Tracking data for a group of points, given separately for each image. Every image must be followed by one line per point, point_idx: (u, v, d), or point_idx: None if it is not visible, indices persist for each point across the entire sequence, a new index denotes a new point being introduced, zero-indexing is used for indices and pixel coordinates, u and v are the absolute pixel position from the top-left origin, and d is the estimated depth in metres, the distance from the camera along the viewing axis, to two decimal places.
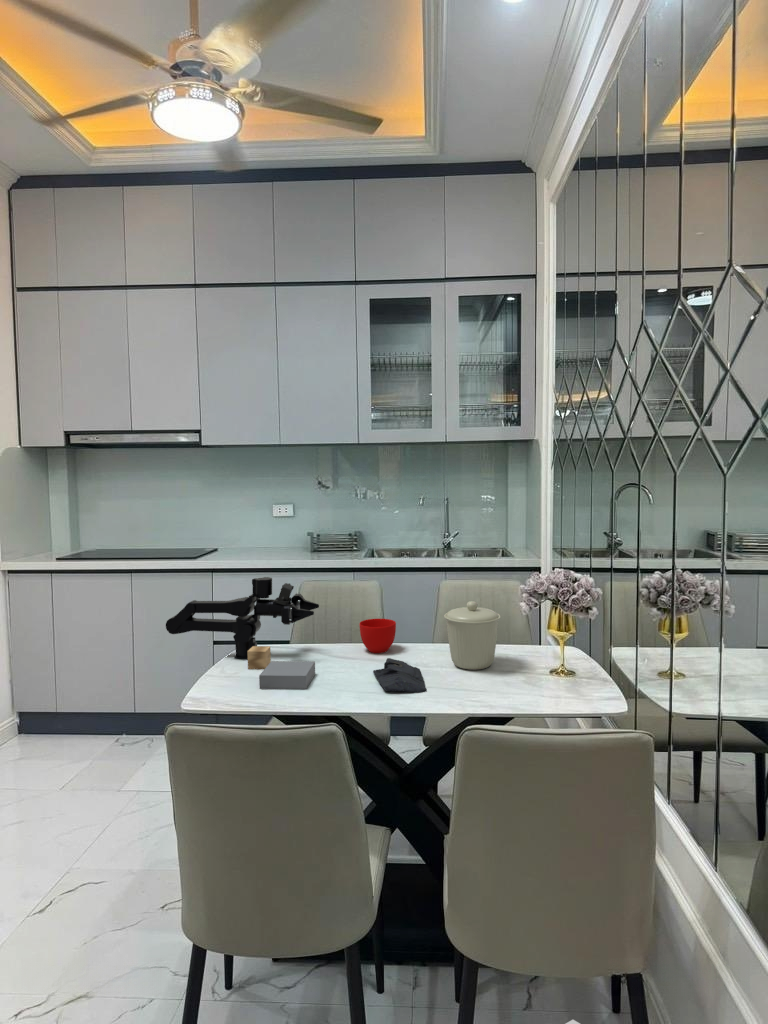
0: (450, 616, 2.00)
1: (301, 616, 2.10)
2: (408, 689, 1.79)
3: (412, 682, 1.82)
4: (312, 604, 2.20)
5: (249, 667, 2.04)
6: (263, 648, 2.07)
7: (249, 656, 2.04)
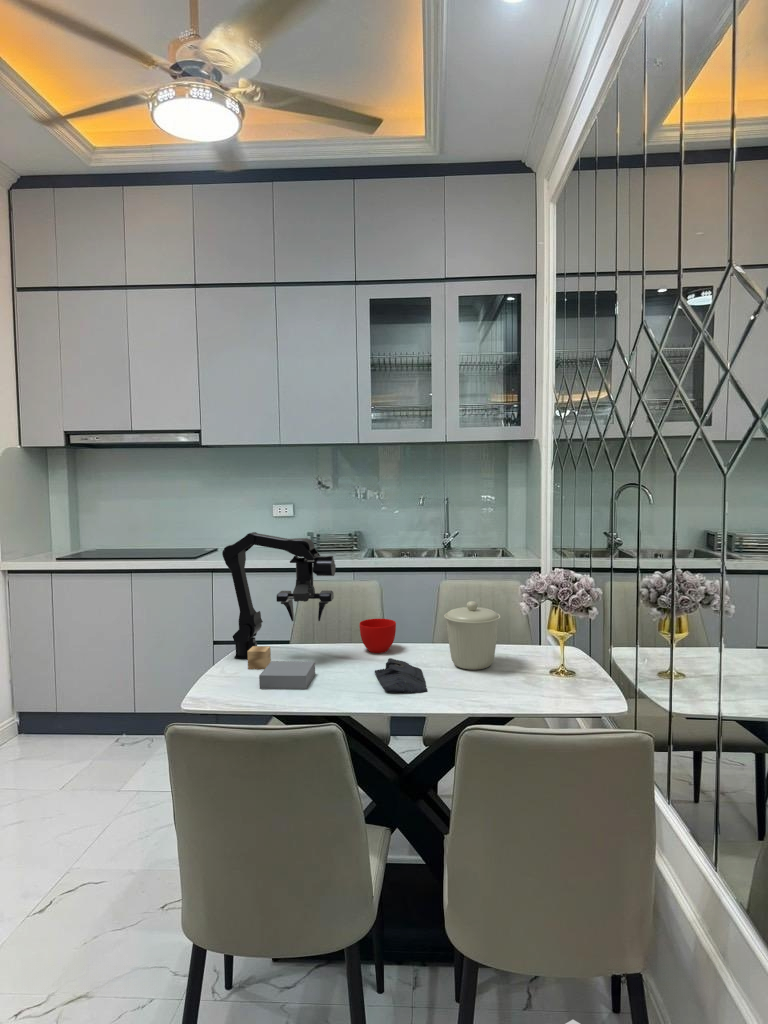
0: (450, 616, 2.00)
1: None
2: (409, 689, 1.79)
3: (413, 682, 1.82)
4: None
5: (249, 667, 2.04)
6: (263, 648, 2.07)
7: (249, 656, 2.04)
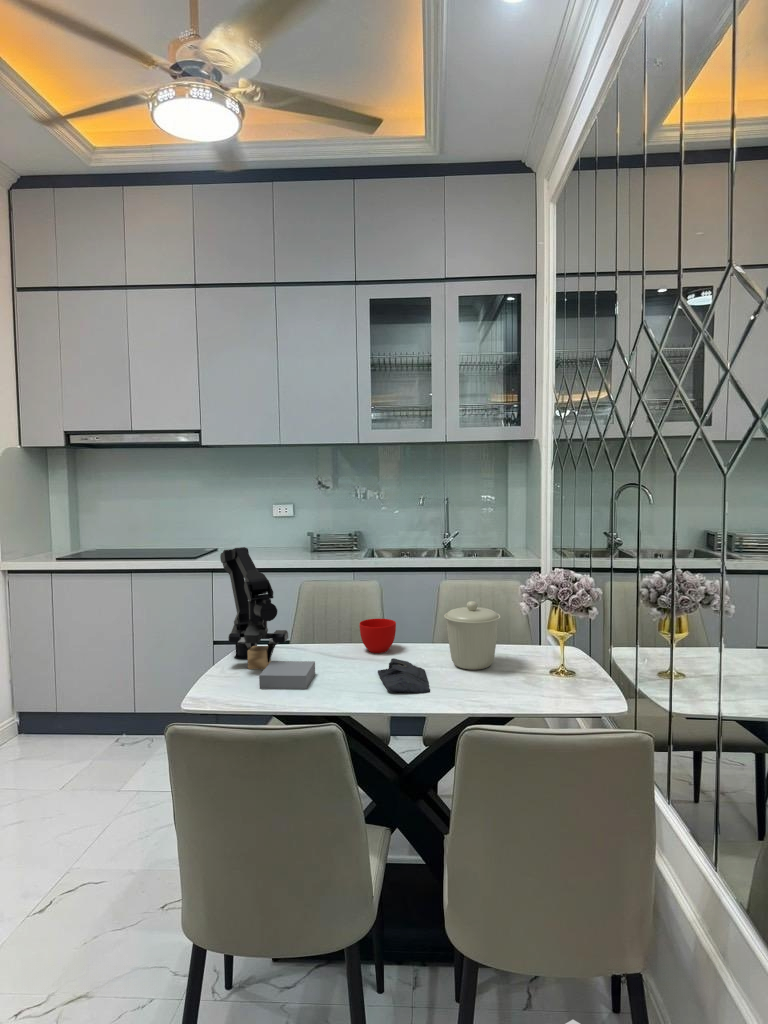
0: (450, 616, 2.00)
1: None
2: (411, 690, 1.79)
3: (416, 682, 1.82)
4: None
5: (249, 667, 2.04)
6: (263, 647, 2.07)
7: (249, 656, 2.04)
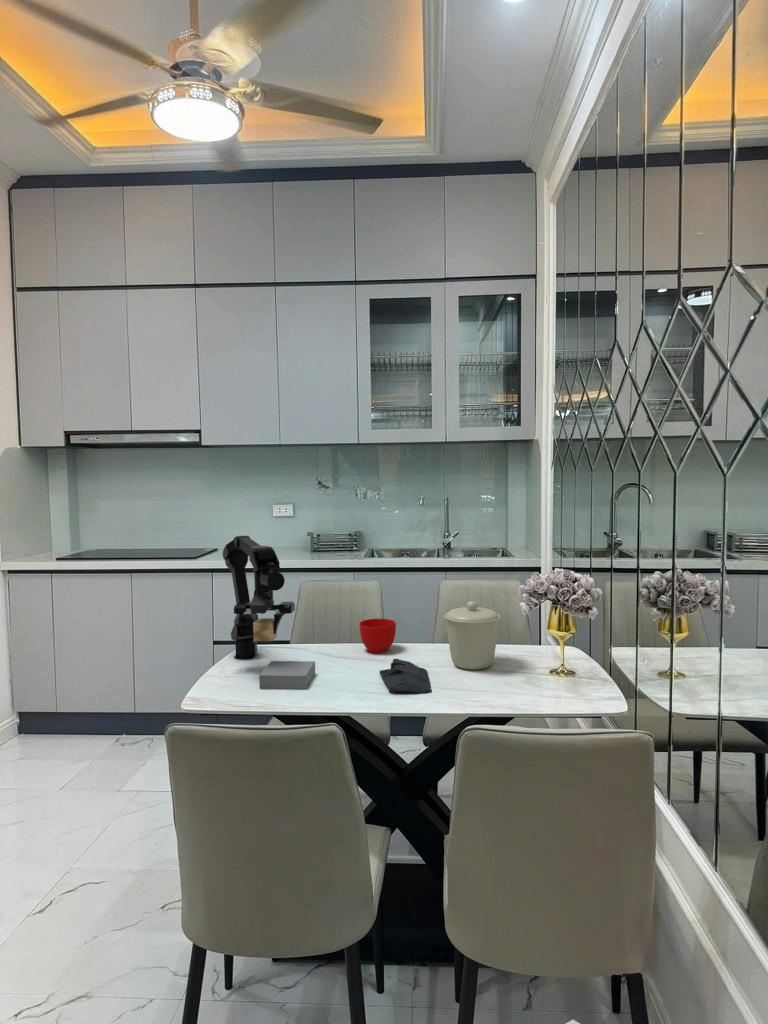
0: (450, 616, 2.00)
1: None
2: (413, 690, 1.79)
3: (417, 683, 1.82)
4: None
5: (255, 639, 1.99)
6: (269, 619, 2.03)
7: (255, 627, 1.99)
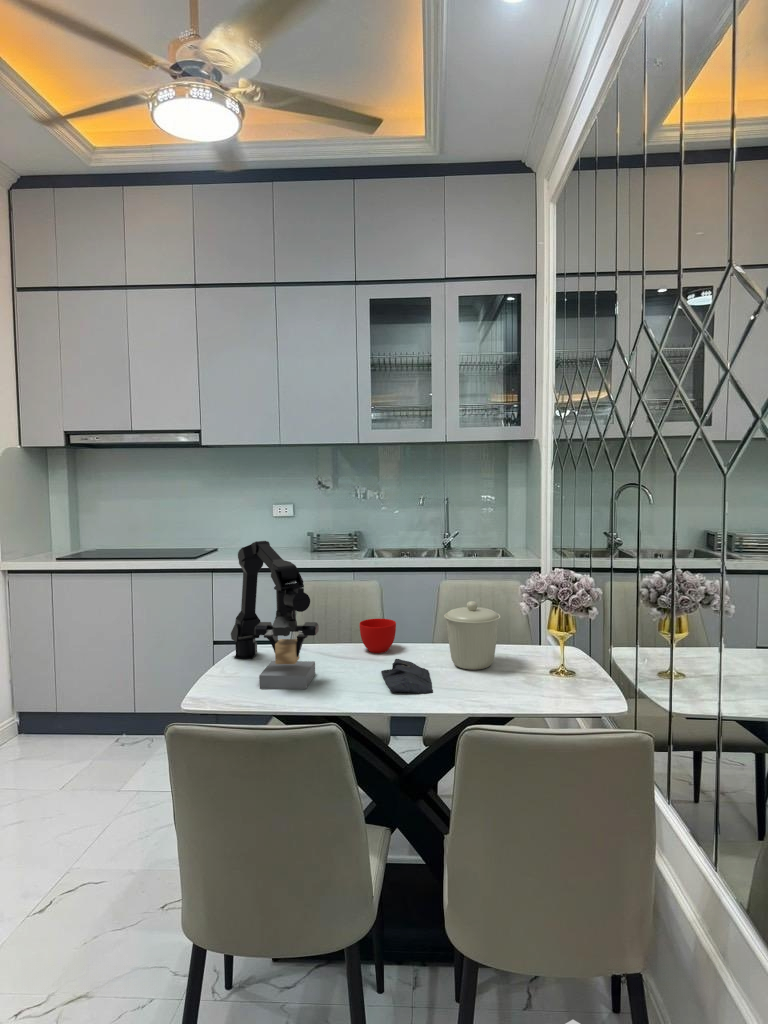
0: (450, 616, 2.00)
1: None
2: (414, 690, 1.79)
3: (418, 683, 1.81)
4: None
5: (277, 661, 1.89)
6: (291, 641, 1.92)
7: (277, 649, 1.88)
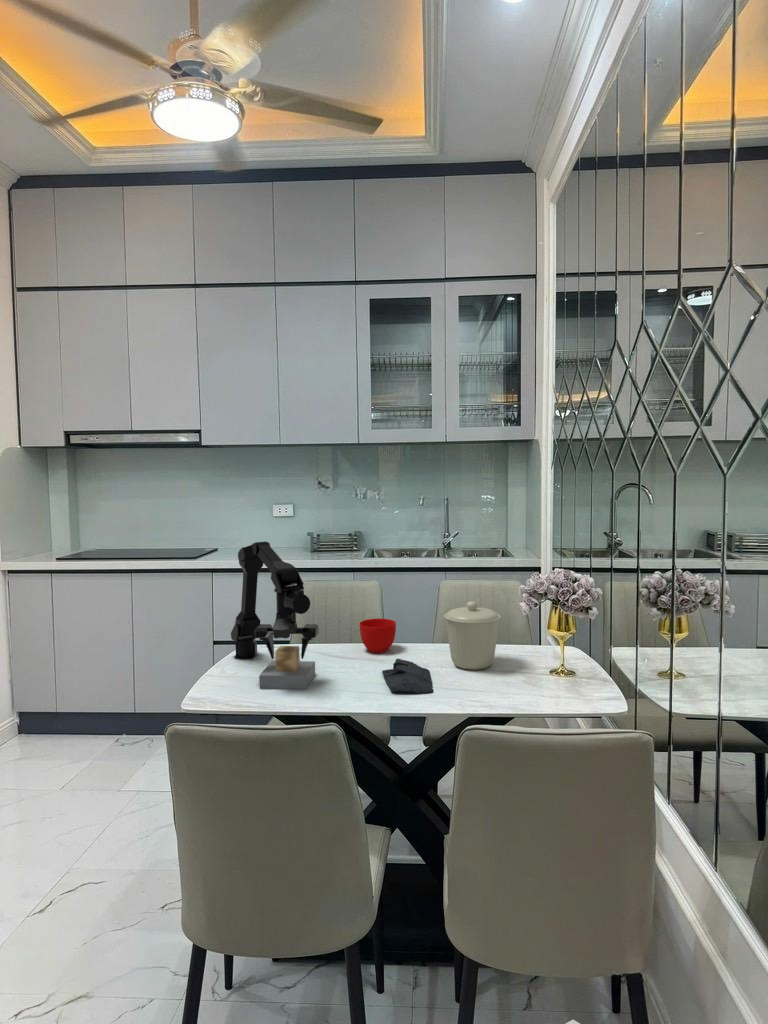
0: (450, 616, 2.00)
1: None
2: (414, 690, 1.78)
3: (419, 683, 1.81)
4: None
5: (277, 668, 1.89)
6: (291, 648, 1.92)
7: (277, 657, 1.89)
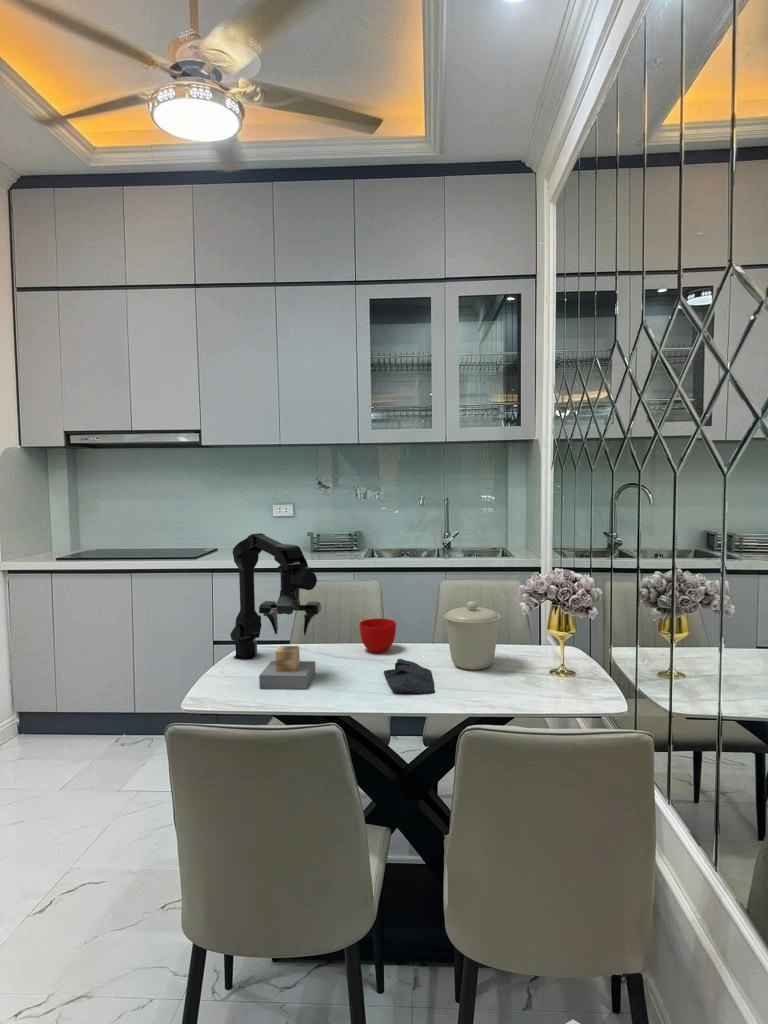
0: (450, 616, 2.00)
1: None
2: (416, 690, 1.78)
3: (420, 683, 1.81)
4: (304, 628, 1.97)
5: (277, 668, 1.89)
6: (291, 648, 1.92)
7: (277, 657, 1.89)
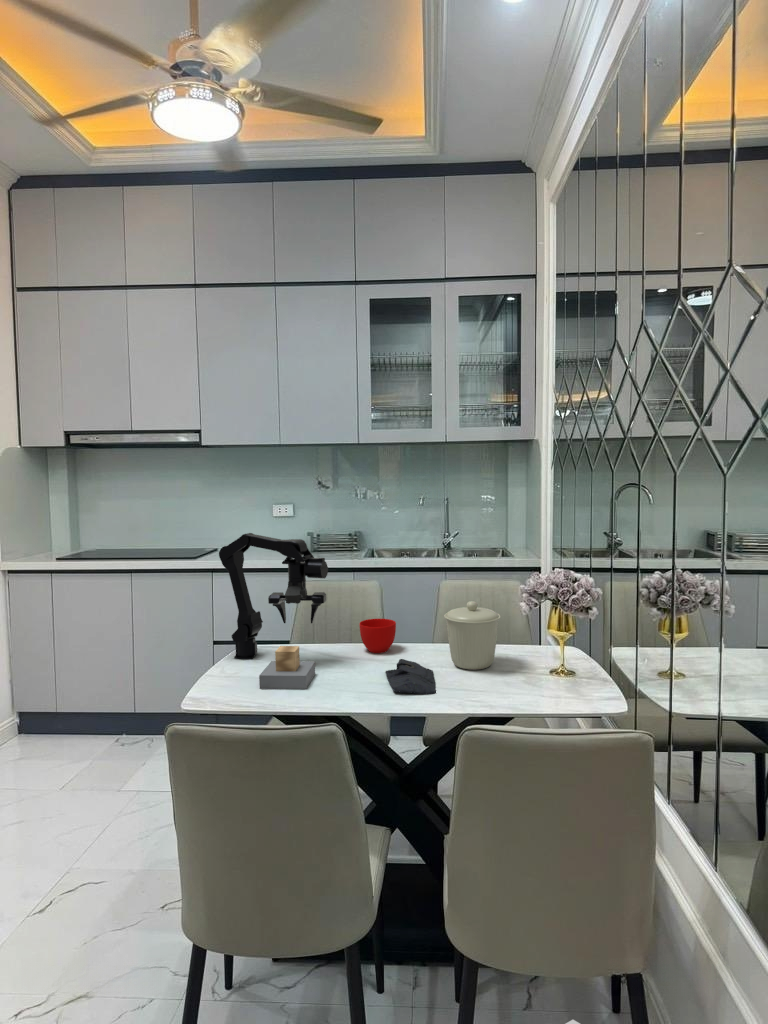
0: (450, 616, 2.00)
1: None
2: (417, 691, 1.78)
3: (422, 684, 1.81)
4: (311, 616, 2.10)
5: (277, 668, 1.89)
6: (291, 648, 1.92)
7: (277, 657, 1.89)
